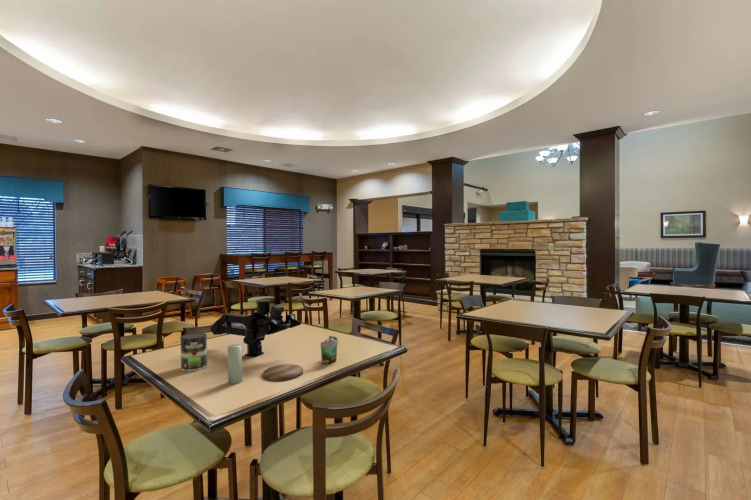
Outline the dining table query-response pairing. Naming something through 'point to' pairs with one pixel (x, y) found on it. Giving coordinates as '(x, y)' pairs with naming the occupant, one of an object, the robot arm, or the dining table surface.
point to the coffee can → (193, 351)
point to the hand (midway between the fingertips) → (294, 325)
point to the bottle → (234, 364)
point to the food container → (329, 350)
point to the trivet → (283, 372)
